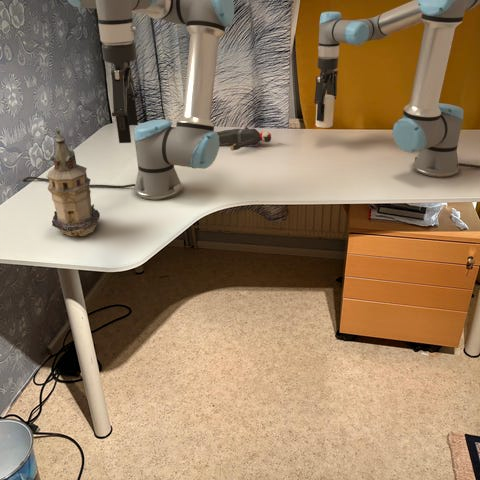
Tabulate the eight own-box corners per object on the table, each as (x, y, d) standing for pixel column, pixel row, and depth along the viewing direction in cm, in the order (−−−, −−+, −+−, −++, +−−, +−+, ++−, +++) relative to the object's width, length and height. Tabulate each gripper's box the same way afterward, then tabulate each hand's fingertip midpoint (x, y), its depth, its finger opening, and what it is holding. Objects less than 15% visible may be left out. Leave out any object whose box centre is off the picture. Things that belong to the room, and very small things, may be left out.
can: (334, 127, 208) (336, 98, 203) (317, 128, 208) (319, 99, 202) (330, 122, 214) (331, 94, 209) (313, 123, 213) (315, 94, 208)
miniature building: (80, 214, 164) (63, 117, 149) (111, 225, 157) (96, 125, 142) (44, 231, 154) (22, 130, 140) (75, 244, 147) (55, 139, 133)
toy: (206, 120, 229) (275, 120, 223) (207, 134, 232) (276, 134, 226) (189, 139, 207) (265, 140, 201) (190, 155, 210) (266, 156, 204)
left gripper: (127, 52, 111) (138, 150, 121) (140, 33, 132) (149, 118, 143) (91, 53, 110) (105, 151, 121) (110, 34, 132) (120, 118, 143)
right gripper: (331, 52, 207) (327, 110, 218) (306, 60, 193) (303, 123, 204) (348, 53, 203) (344, 113, 215) (325, 62, 189) (321, 126, 201)
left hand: (129, 133), depth 132 cm, fingers open, 13 cm apart
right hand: (324, 118), depth 210 cm, fingers closed on can, 7 cm apart
